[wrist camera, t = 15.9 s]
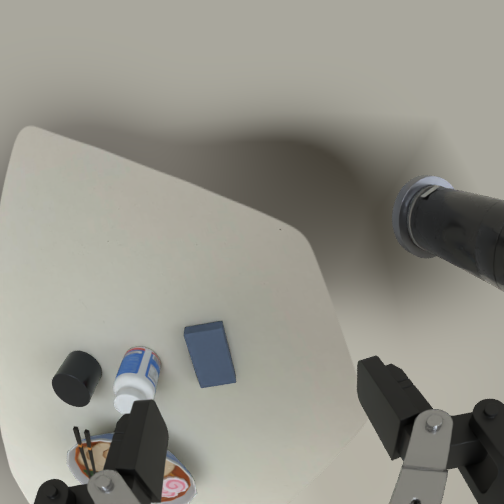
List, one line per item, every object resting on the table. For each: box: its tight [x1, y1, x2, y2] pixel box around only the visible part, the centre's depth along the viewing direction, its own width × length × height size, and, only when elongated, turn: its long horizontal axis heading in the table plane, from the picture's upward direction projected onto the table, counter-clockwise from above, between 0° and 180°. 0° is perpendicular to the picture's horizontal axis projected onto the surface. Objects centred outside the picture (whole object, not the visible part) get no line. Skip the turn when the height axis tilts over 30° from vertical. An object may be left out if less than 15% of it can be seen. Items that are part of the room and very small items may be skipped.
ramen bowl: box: [67, 426, 197, 504], centre depth 43 cm, size 25×23×8 cm
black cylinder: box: [52, 351, 102, 407], centre depth 39 cm, size 6×6×6 cm
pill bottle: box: [113, 346, 161, 415], centre depth 37 cm, size 6×5×10 cm
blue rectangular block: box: [184, 321, 236, 388], centre depth 41 cm, size 9×5×2 cm, turn 10°
